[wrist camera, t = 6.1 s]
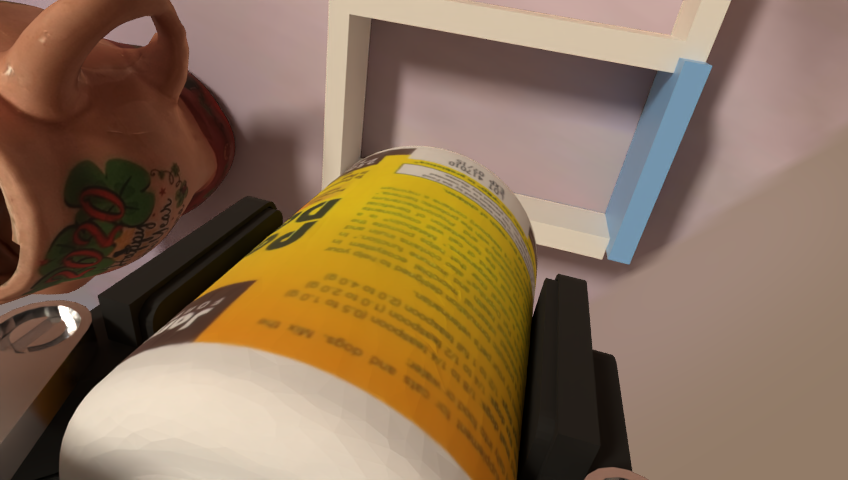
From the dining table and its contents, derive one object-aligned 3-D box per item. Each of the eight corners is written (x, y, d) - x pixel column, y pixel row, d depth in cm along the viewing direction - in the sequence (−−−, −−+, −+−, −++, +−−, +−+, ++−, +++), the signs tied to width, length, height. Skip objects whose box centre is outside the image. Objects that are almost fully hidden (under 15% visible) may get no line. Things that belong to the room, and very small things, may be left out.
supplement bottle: (391, 89, 11) (-343, 533, 2) (588, 230, 11) (685, 1121, 2) (296, 255, 14) (-180, 737, 5) (455, 363, 14) (278, 992, 5)
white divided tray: (800, -235, 17) (861, -291, 13) (616, 237, 26) (624, 275, 23) (370, -273, 19) (328, -329, 16) (343, 173, 29) (313, 198, 25)
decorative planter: (157, -125, 24) (-254, -238, 12) (343, 56, 25) (151, 117, 14) (50, 150, 34) (-232, 241, 22) (190, 266, 35) (1, 410, 23)
